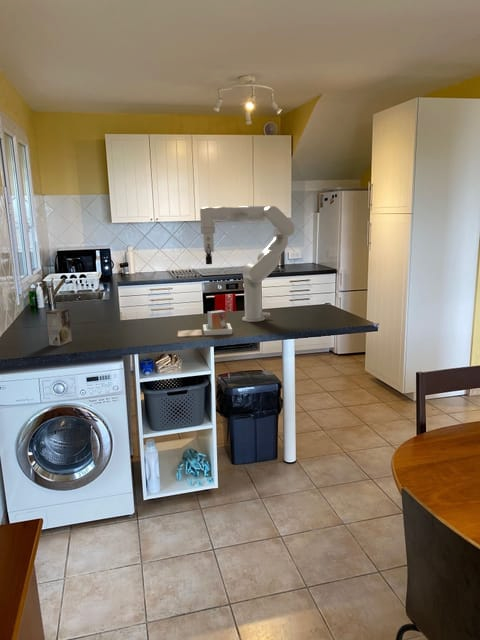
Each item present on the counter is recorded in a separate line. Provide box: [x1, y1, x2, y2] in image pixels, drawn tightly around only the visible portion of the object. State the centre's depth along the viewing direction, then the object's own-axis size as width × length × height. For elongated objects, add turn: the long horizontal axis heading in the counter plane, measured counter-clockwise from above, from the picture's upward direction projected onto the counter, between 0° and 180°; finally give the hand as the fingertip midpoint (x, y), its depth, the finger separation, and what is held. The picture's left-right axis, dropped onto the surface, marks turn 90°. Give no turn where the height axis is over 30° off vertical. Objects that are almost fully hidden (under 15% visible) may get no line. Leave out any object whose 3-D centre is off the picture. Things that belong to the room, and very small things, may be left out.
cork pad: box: [177, 329, 203, 338], centre depth 244 cm, size 12×12×1 cm
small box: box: [207, 309, 227, 330], centre depth 246 cm, size 8×6×10 cm
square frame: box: [202, 322, 233, 336], centre depth 247 cm, size 14×14×2 cm
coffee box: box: [45, 308, 73, 347], centre depth 232 cm, size 9×6×16 cm
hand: (208, 263), depth 260 cm, fingers open, 9 cm apart
